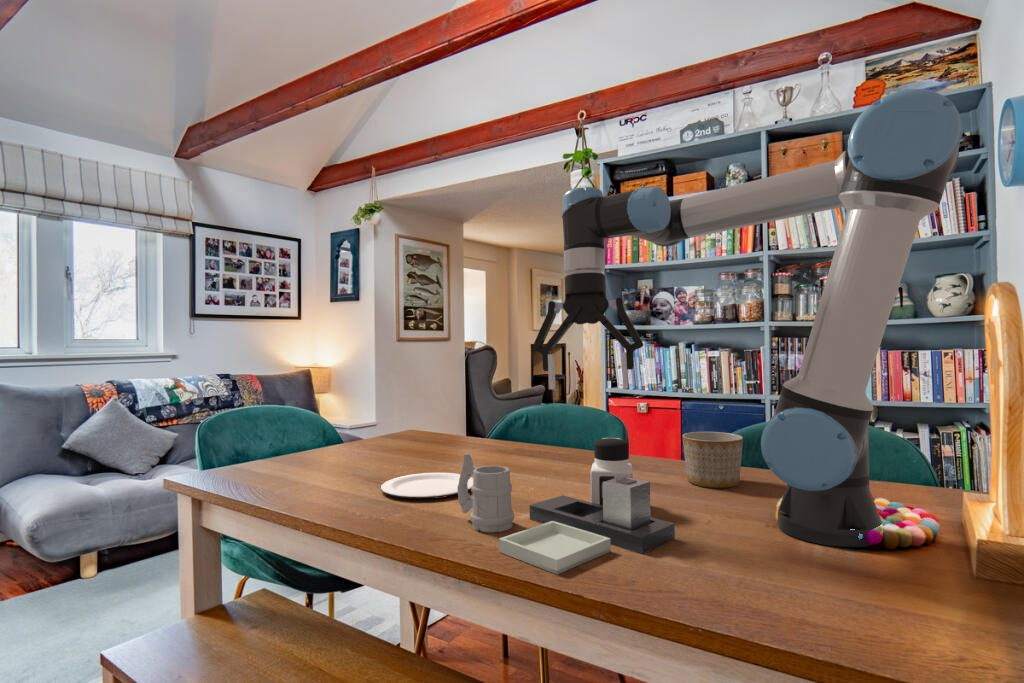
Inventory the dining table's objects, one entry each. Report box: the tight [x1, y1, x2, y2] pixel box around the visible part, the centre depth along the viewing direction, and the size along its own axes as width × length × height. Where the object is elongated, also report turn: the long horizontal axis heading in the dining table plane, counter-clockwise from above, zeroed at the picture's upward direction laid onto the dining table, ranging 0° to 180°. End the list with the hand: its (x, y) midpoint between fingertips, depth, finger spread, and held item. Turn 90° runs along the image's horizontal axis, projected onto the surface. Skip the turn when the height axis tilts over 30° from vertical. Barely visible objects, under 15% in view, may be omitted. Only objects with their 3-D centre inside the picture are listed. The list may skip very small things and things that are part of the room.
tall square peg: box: [603, 476, 651, 531], centre depth 92 cm, size 5×5×9 cm
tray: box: [498, 521, 612, 575], centre depth 86 cm, size 12×12×2 cm
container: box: [589, 437, 634, 505], centre depth 109 cm, size 8×8×13 cm
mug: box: [457, 452, 515, 533], centre depth 100 cm, size 8×12×12 cm, turn 52°
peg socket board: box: [529, 495, 676, 555], centre depth 96 cm, size 24×9×2 cm, turn 43°
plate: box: [380, 472, 473, 499], centre depth 124 cm, size 21×21×2 cm
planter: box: [682, 431, 744, 489], centre depth 125 cm, size 13×13×10 cm
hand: (588, 388), depth 104 cm, fingers open, 13 cm apart
